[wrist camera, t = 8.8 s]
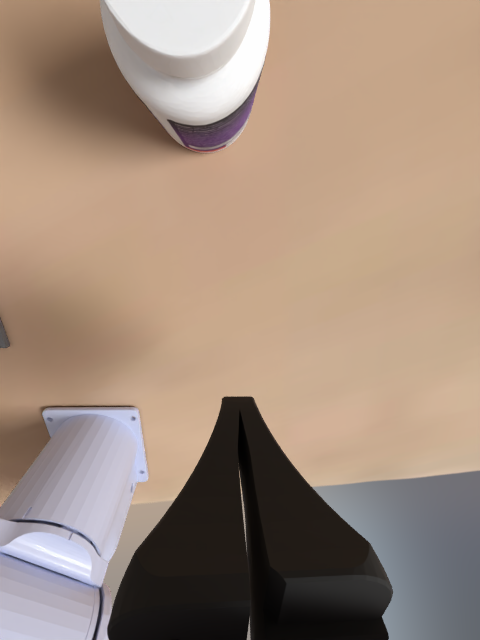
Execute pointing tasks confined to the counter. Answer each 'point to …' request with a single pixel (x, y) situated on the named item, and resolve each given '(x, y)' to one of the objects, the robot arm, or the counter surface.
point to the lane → (3, 337)
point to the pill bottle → (191, 62)
